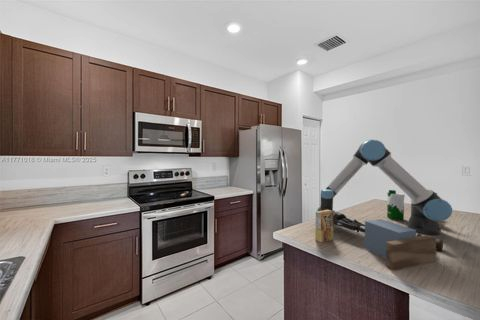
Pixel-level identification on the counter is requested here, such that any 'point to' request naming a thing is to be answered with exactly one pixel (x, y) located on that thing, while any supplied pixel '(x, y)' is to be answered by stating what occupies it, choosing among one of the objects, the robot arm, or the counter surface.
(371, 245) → the block
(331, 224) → the candy box
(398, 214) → the milk carton
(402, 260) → the board
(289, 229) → the counter surface
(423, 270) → the counter surface
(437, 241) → the kendama
